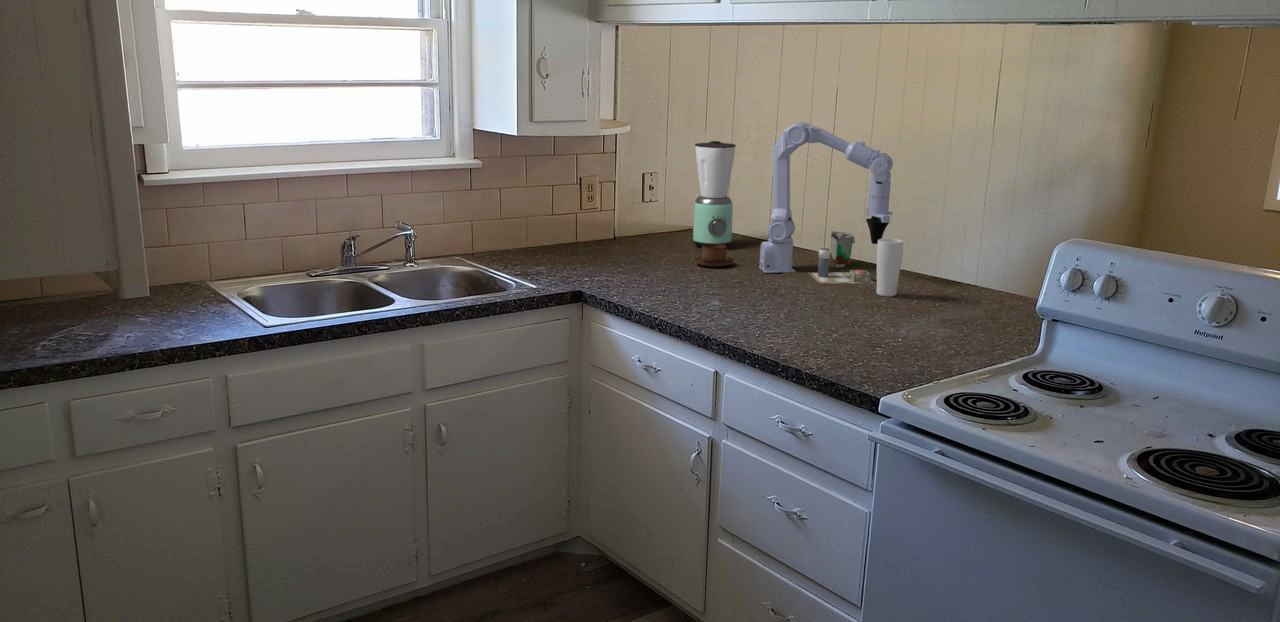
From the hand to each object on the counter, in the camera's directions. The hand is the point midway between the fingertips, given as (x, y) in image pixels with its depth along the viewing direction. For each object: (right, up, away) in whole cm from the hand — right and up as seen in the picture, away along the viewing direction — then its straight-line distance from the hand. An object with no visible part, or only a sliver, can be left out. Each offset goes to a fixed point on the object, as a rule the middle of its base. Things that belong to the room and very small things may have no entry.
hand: (875, 243), depth 284 cm
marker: (-15, -9, +1) cm, 18 cm away
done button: (-5, -10, -3) cm, 12 cm away
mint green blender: (-44, +2, +49) cm, 66 cm away
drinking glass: (-1, -15, -17) cm, 23 cm away
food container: (-6, -6, +19) cm, 20 cm away
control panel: (-10, -10, +1) cm, 14 cm away
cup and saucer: (-45, -6, +18) cm, 49 cm away
